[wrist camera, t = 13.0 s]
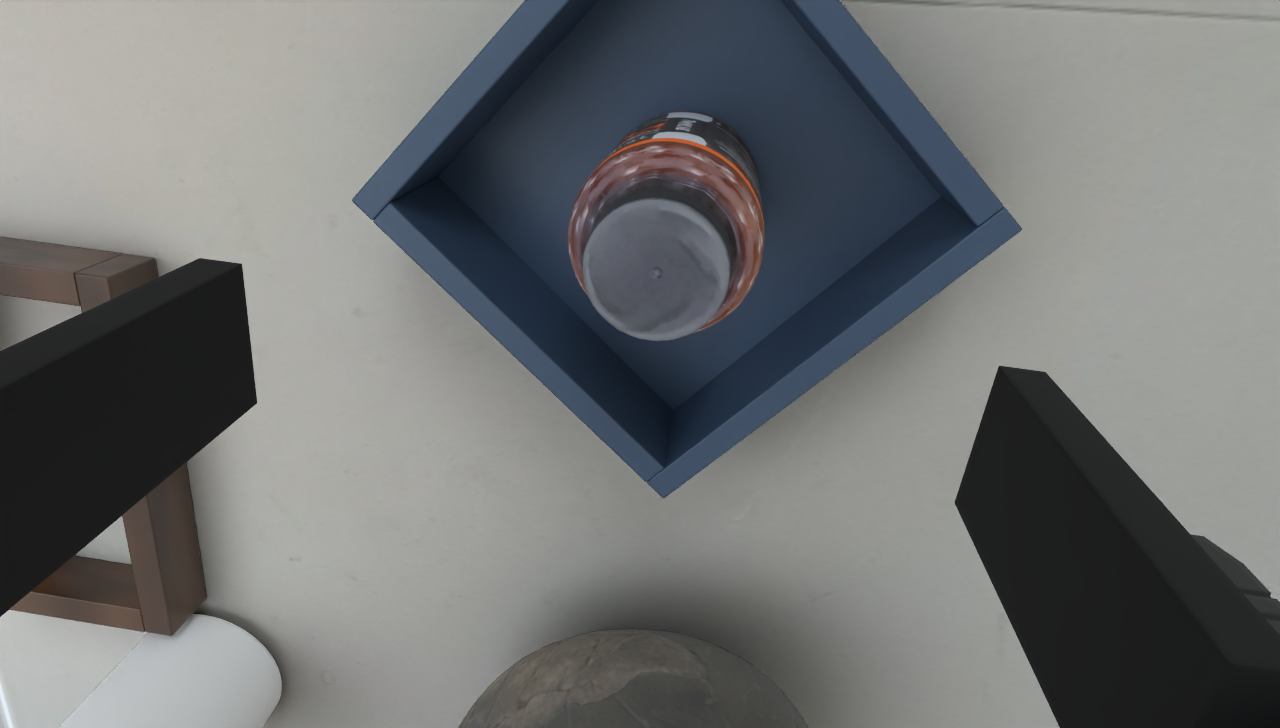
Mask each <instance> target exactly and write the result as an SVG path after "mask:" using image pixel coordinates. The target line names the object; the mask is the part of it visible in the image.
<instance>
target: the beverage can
mask: <svg viewBox="0 0 1280 728" xmlns="http://www.w3.org/2000/svg"><path fill="white" fill-rule="evenodd" d="M281 692H282V680H281V675H280V671H279V669H278V666H277V664H276V662H275V660H274V659H273V657H272V656H271V654H270V653H269V651H268V650H267V649H266V648H265V647H264V646H263V645H262V644H261V643H260V642H259V641H258V640H257V639H256V638H255V637H254V636H252V635H251V634H250V633H248V632H247V631H245V630H244V629H242V628H240V627H238V626H237V625H235V624H232V623H230V622H228V621H225V620H223V619H220V618H216V617H212V616H208V615H200V614H192V615H191V616H190V617H189V618H188V619H187V620H186V621H185V623H184V624H183V625H182V626H181V627H180V628H179V629H178V630H177V631H176V632H175V634H174V635H173V636H167V635H161V634H155V633H148V634H147V635H146V636H145V637H144V638H143V639H142V640H141V641H140V642H139V643H138V644H137V645H136V646H135V647H134V648H133V649H132V650H131V651H130V653H129V654H128V655H127V656H126V657H125V658H124V659H123V660H122V661H121V662H120V663H119V664H118V665H117V666H116V667H115V668H114V669H113V670H112V671H111V673H110V674H109V675H108V676H107V677H106V678H105V679H104V680H103V681H102V682H101V683H100V684H99V685H98V686H97V687H96V688H95V689H94V690H93V691H92V692H91V694H90V695H89V696H88V697H87V698H86V699H85V700H84V701H83V702H82V703H81V704H80V705H79V706H78V707H77V708H76V709H75V710H74V711H73V712H72V714H71V715H70V716H69V717H68V718H67V719H66V720H65V721H64V722H63V723H62V724H61V725H60V726H59V727H58V728H262V727H263V725H264V724H265V722H266V721H267V719H268V718H269V716H270V715H271V713H272V712H273V710H274V709H275V707H276V706H277V704H278V702H279V700H280V697H281Z"/></svg>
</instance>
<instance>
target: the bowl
mask: <svg viewBox="0 0 1280 728" xmlns="http://www.w3.org/2000/svg"><path fill="white" fill-rule="evenodd" d="M459 728H808V726H807V724H806V723H805V721H804V719H803V718H802V716H801V715H800V713H799V712H798V710H797V709H796V708H795V706H794V705H793V704H792V702H791V701H790V700H789V699H788V697H787V696H786V695H785V694H784V693H783V692H782V691H781V690H780V689H779V687H778V686H776V684H774V683H773V682H772V681H771V680H770V679H769V678H768V677H767V676H765V675H764V674H763V673H762V672H761V671H759V670H758V669H757V668H755V667H754V666H753V665H751V664H750V663H748V662H747V661H745V660H743V659H742V658H740V657H738V656H736V655H735V654H733V653H731V652H729V651H727V650H725V649H723V648H721V647H719V646H716V645H714V644H712V643H710V642H707V641H704V640H701V639H698V638H695V637H691V636H688V635H684V634H679V633H674V632H666V631H655V630H636V629H619V630H602V631H594V632H590V633H585V634H581V635H577V636H574V637H571V638H568V639H565V640H562V641H559V642H555V643H552V644H550V645H547V646H545V647H543V648H541V649H539V650H537V651H535V652H533V653H531V654H529V655H527V656H525V657H524V658H522V659H521V660H520V661H518V662H517V663H515V664H514V665H513V666H511V667H510V668H509V669H508V670H506V671H505V672H504V673H503V674H501V675H500V676H499V677H498V678H497V679H496V680H495V681H494V682H493V683H492V684H491V685H490V686H489V687H488V688H487V689H486V691H485V692H484V693H483V694H482V695H481V696H480V697H479V698H478V699H477V701H476V702H475V703H474V705H473V706H472V707H471V709H470V710H469V711H468V713H467V715H466V716H465V718H464V719H463V721H462V723H461V724H460V726H459Z"/></svg>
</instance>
